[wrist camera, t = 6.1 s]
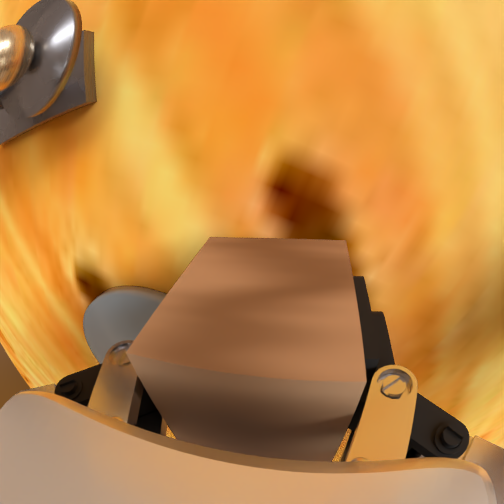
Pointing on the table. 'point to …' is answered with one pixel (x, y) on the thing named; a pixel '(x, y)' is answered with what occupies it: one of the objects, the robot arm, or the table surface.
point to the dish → (118, 316)
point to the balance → (44, 67)
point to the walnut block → (258, 348)
